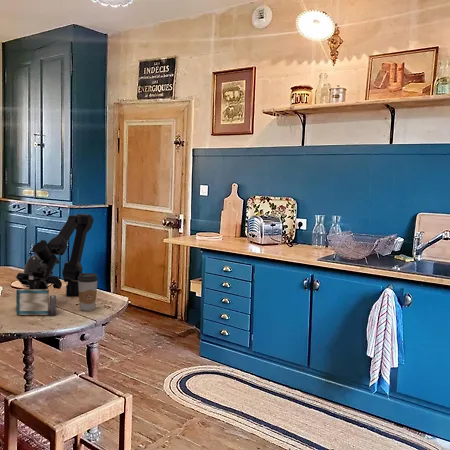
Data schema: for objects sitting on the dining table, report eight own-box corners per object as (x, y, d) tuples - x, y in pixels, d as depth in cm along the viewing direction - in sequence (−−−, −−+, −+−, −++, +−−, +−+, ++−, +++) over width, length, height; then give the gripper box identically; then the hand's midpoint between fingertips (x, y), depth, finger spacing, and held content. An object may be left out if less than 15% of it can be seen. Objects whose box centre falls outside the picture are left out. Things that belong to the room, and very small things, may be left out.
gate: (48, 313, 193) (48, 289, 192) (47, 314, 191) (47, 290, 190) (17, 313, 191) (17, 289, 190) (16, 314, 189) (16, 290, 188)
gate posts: (56, 314, 193) (57, 295, 192) (53, 316, 191) (53, 297, 190) (19, 309, 197) (19, 290, 196) (15, 311, 195) (15, 292, 194)
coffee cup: (79, 312, 197) (79, 277, 196) (75, 307, 205) (76, 273, 203) (99, 310, 201) (99, 276, 199) (95, 305, 208) (95, 272, 207)
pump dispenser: (40, 288, 231) (40, 258, 230) (19, 287, 232) (19, 257, 230) (48, 283, 242) (48, 254, 240) (28, 282, 242) (28, 253, 240)
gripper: (18, 253, 196) (0, 285, 187) (58, 257, 192) (41, 290, 183) (30, 268, 205) (13, 299, 196) (68, 272, 201) (53, 304, 191)
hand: (30, 298), depth 191 cm, fingers closed
